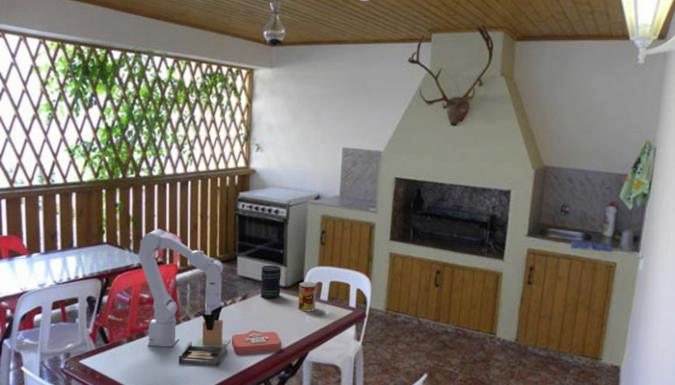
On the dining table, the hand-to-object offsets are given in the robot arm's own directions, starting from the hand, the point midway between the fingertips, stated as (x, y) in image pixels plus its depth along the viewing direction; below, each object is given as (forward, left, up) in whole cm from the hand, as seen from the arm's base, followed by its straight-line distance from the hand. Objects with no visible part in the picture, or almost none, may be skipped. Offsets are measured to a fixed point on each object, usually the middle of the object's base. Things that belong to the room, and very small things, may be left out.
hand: (212, 326), depth 195 cm
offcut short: (0, -13, -8) cm, 15 cm away
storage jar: (+13, +62, -8) cm, 64 cm away
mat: (0, 0, -7) cm, 7 cm away
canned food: (+33, +47, -8) cm, 58 cm away
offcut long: (0, -16, -8) cm, 17 cm away
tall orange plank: (0, 0, -7) cm, 7 cm away
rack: (0, -12, -7) cm, 14 cm away
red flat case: (+17, +2, -8) cm, 19 cm away
